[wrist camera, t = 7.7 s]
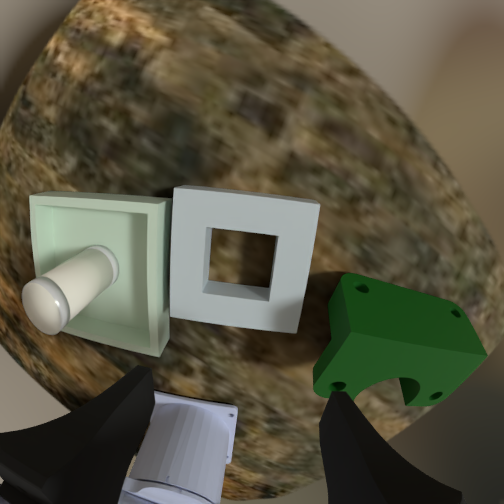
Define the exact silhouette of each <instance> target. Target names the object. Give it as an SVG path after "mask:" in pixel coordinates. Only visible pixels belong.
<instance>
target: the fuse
mask: <svg viewBox="0 0 504 504" xmlns="http://www.w3.org/2000/svg"><path fill="white" fill-rule="evenodd" d="M118 276H119V263H118V260H117V258H116V256H115V255H114V253H113V252H112V251H111V250H110V249H109V248H107V247H105V246H103V245H93V246H91V247H89V248H87V249H85V250H84V251H83V252H81V253H80V254H78V255H76V256H74V257H72V258H71V259H69V260H67V261H65V262H64V263H62V264H60V265H59V266H57V267H55V268H53V269H52V270H50V271H48V272H47V273H45V274H43V275H42V276H40V277H37V278H35V279H33V280H32V281H30V282H29V283H27V284H26V285H25V286H24V288H23V291H22V303H23V307H24V309H25V312H26V314H27V316H28V318H29V319H30V321H31V322H32V323H33V324H34V326H35V327H36V328H38V329H39V330H40V331H42V332H43V333H45V334H48V335H55V334H57V333H59V332H60V331H61V330H62V329H63V328H64V327H65V326H66V325H67V324H68V322H69V321H70V320H71V319H72V318H74V317H75V316H76V315H77V314H78V313H79V312H80V311H81V310H82V309H84V308H85V307H86V306H87V305H88V304H89V303H90V302H92V301H93V300H94V299H95V298H96V297H97V296H98V295H100V294H101V293H102V292H103V291H104V290H105V289H107V288H109V287H110V286H111V285H112V284H113V283H115V282H116V280H117V279H118Z"/></svg>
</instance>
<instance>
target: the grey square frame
mask: <svg viewBox="0 0 504 504" xmlns="http://www.w3.org/2000/svg"><path fill="white" fill-rule="evenodd" d="M319 209H320V204H319V203H318V202H316V201H315V200H310V199H303V198H296V197H289V196H281V195H274V194H266V193H257V192H249V191H240V190H231V189H221V188H211V187H200V186H189V185H182V186H179V187H175V188H174V195H173V211H172V230H171V258H170V317H176V318H182V319H188V320H194V321H200V322H207V323H213V324H220V325H227V326H235V327H242V328H250V329H259V330H267V331H276V332H286V333H297V329H298V324H299V319H300V315H301V310H302V305H303V300H304V295H305V290H306V285H307V279H308V274H309V269H310V263H311V258H312V252H313V246H314V240H315V234H316V228H317V222H318V216H319ZM212 228H219V229H228V230H236V231H245V232H253V233H261V234H269V235H277V236H276V243H275V250H274V258H273V265H272V272H271V278H270V285H269V288H264V287H256V286H248V285H240V284H232V283H225V282H217V281H210V280H208V276H209V261H210V247H211V235H212Z"/></svg>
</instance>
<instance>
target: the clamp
mask: <svg viewBox="0 0 504 504" xmlns="http://www.w3.org/2000/svg"><path fill="white" fill-rule="evenodd" d="M328 313H329V321H330V330H331V338H332V339H331V341H330V342H329V344H328V346H327V347H326V349H325V350H324V352H323V353H322V355H321V356H320V358H319V359H318V361H317V362H316V364H315V365H314V367H313V390H314V392H315V393H316V394H317V395H319V396H321V397H324V398H329V397H330V395H331V392H332V391H346V392H347V393H348V395H349V396H350V397H351V399H352V400H353V401H354V399H355V397H356V396H357V395H358V394H359V393H360V392H361V391H363V390H364V389H365V388H367V387H369V386H371V385H373V384H375V383H378V382H380V381H384V380H387V379H392V378H399V380H400V384H401V389H402V393H403V397H404V402H405V406H431V405H434V404H437V403H439V402H441V401H443V400H444V399H446V398H447V397H448V396H449V395H450V394H451V393H452V392H453V391H454V390H455V389H456V388H458V387H459V385H461V384H462V383H463V382H464V381H465V380H466V379H467V378H468V377H469V376H470V375H471V373H472V372H473V371H474V370H475V369H476V368H477V367H478V366H479V365H480V364H481V363H482V362H483V361H484V359H485V358H486V357H487V356H488V355H487V353H486V351H485V349H484V347H483V345H482V343H481V341H480V339H479V337H478V336H477V334H476V332H475V330H474V328H473V326H472V324H471V322H470V321H469V319H468V317H467V315H466V314H465V312H464V311H463V310H462V309H461V308H460V307H459V306H458V305H456V304H455V303H453V302H451V301H448V300H445V299H441V298H438V297H434V296H431V295H428V294H424V293H421V292H417V291H414V290H410V289H407V288H404V287H400V286H397V285H393V284H390V283H386V282H383V281H379V280H376V279H372V278H369V277H365V276H362V275H358V274H354V273H347V274H344V275H343V276H342V277H341V279H340V281H339V283H338V285H337V287H336V289H335V291H334V293H333V295H332V297H331V299H330V301H329V303H328Z"/></svg>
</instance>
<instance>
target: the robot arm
mask: <svg viewBox="0 0 504 504" xmlns="http://www.w3.org/2000/svg"><path fill="white" fill-rule="evenodd" d="M237 412H238V408H237V407H236V406H234V405H228V404H221V403H214V402H208V401H202V400H196V399H191V398H186V397H181V396H176V395H171V394H166V393H162V392H157V391H154V386H153V377H152V368H148V367H143V366H139V365H137V366H136V367H135V368H133V369H132V370H131V371H130V372H128V373H127V374H126V375H125V376H123V377H122V378H121V379H120V380H118V381H117V382H116V383H115V384H113V385H112V386H111V387H109V388H108V389H107V390H105V391H104V392H103V393H101V394H100V395H98V396H97V397H95V398H94V399H92V400H91V401H89V402H88V403H86V404H84V405H83V406H81V407H79V408H78V409H76V410H74V411H72V412H70V413H68V414H66V415H64V416H62V417H59V418H57V419H54V420H52V421H50V422H47V423H44V424H41V425H38V426H34V427H31V428H27V429H23V430H18V431H11V432H4V433H0V476H1V478H2V479H3V480H4V481H3V483H2V484H0V504H220V499H221V492H222V485H223V479H224V472H225V465H226V464H228V463H230V462H231V457H232V450H233V442H234V435H235V427H236V420H237ZM149 422H150V426H149V428H148V431H147V433H146V435H145V438H144V440H143V443H142V445H141V448H140V450H139V452H138V455H137V457H136V460H135V462H134V465H133V467H132V470H131V472H130V475H129V477H126V474H127V471H128V468H129V465H130V463H131V460H132V458H133V456H134V454H135V452H136V450H137V448H138V446H139V443H140V441H141V439H142V437H143V435H144V433H145V431H146V429H147V426H148V424H149ZM319 434H320V447H321V453H322V459H323V465H324V470H325V476H326V482H327V488H328V504H466V502H465V499H464V497H463V494H462V492H461V491H458V490H456V489H454V488H451V487H449V486H446V485H444V484H442V483H440V482H438V481H436V480H435V479H433V478H431V477H429V476H428V475H426V474H425V473H423V472H421V471H420V470H419V469H417V468H416V467H414V466H413V465H412V464H410V463H409V462H408V461H406V460H405V459H404V458H403V457H402V456H401V455H399V454H398V453H397V452H396V451H395V450H394V449H393V448H392V447H391V446H390V445H389V444H388V443H387V442H386V441H385V440H384V439H383V438H382V437H381V436H380V435H379V433H378V432H377V431H376V430H375V429H374V427H373V426H372V425H371V424H370V423H369V421H368V420H367V419H366V418H365V416H364V415H363V414H362V412H361V411H360V410H359V408H358V407H357V406H356V404H355V403H354V401H353V400H352V399H351V397H350V396H349V395H348V393H347V392H346V391H332V392H331V395H330V397H329V400H328V402H327V405H326V407H325V410H324V412H323V415H322V417H321V420H320V422H319Z"/></svg>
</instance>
